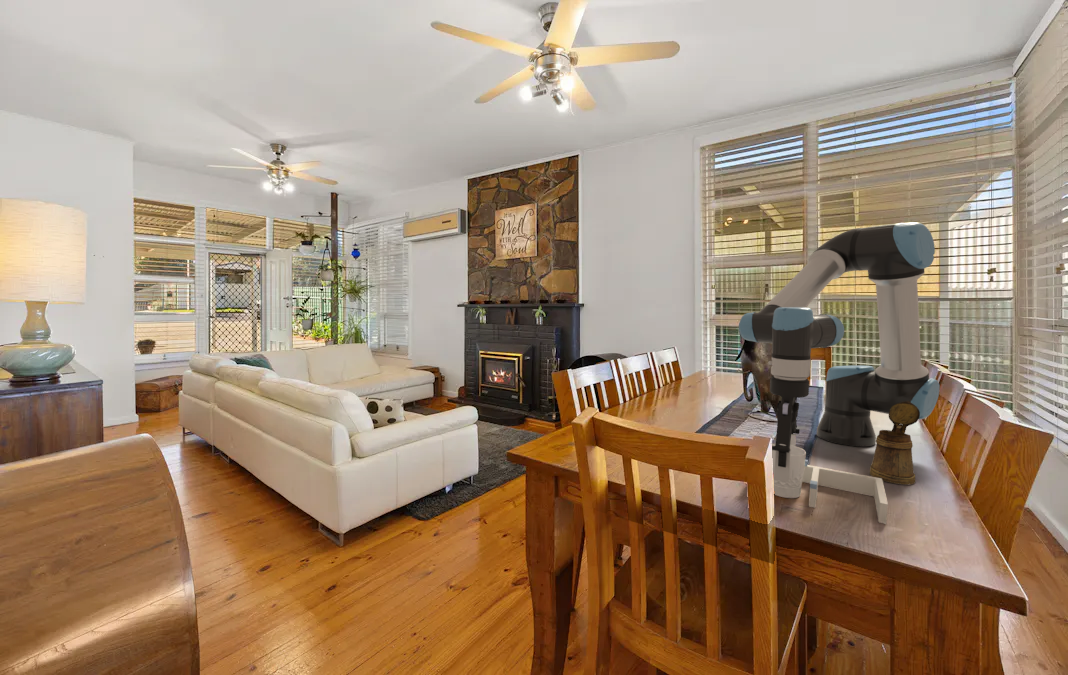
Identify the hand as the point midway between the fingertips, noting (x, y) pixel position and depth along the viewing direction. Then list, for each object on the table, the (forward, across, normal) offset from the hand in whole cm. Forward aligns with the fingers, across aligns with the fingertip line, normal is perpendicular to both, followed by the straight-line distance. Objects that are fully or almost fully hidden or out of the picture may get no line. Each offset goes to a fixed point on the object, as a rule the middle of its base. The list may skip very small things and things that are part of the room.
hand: (785, 470), depth 101 cm
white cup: (+5, 0, 0) cm, 5 cm away
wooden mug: (+6, -27, +22) cm, 35 cm away
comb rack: (+5, -2, +6) cm, 8 cm away
